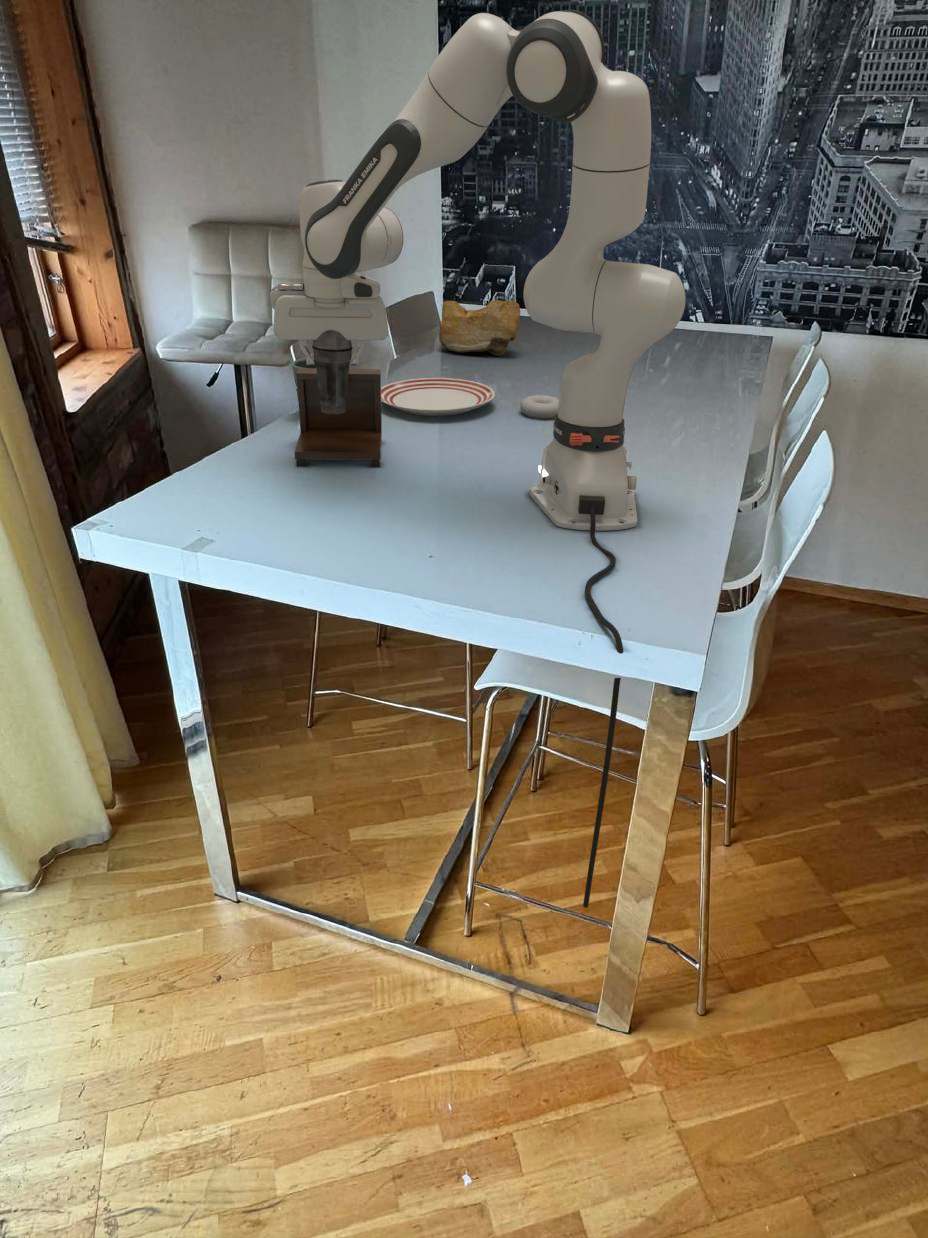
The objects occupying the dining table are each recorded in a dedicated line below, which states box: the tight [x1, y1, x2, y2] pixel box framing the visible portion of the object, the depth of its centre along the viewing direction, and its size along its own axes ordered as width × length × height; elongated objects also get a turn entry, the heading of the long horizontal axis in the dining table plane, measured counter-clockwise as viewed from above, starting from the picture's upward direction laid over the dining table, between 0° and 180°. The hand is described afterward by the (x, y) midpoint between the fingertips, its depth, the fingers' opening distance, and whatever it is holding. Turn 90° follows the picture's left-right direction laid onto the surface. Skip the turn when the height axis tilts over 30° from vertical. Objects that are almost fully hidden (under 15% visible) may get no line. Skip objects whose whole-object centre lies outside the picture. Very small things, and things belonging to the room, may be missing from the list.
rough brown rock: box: [438, 299, 521, 357], centre depth 242 cm, size 23×17×15 cm
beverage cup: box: [311, 330, 353, 414], centre depth 153 cm, size 7×7×20 cm
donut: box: [519, 394, 559, 420], centre depth 192 cm, size 10×4×10 cm
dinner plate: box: [381, 377, 496, 417], centre depth 196 cm, size 27×27×3 cm
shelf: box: [294, 368, 383, 468], centre depth 162 cm, size 15×16×15 cm
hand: (333, 364), depth 154 cm, fingers closed on beverage cup, 7 cm apart
